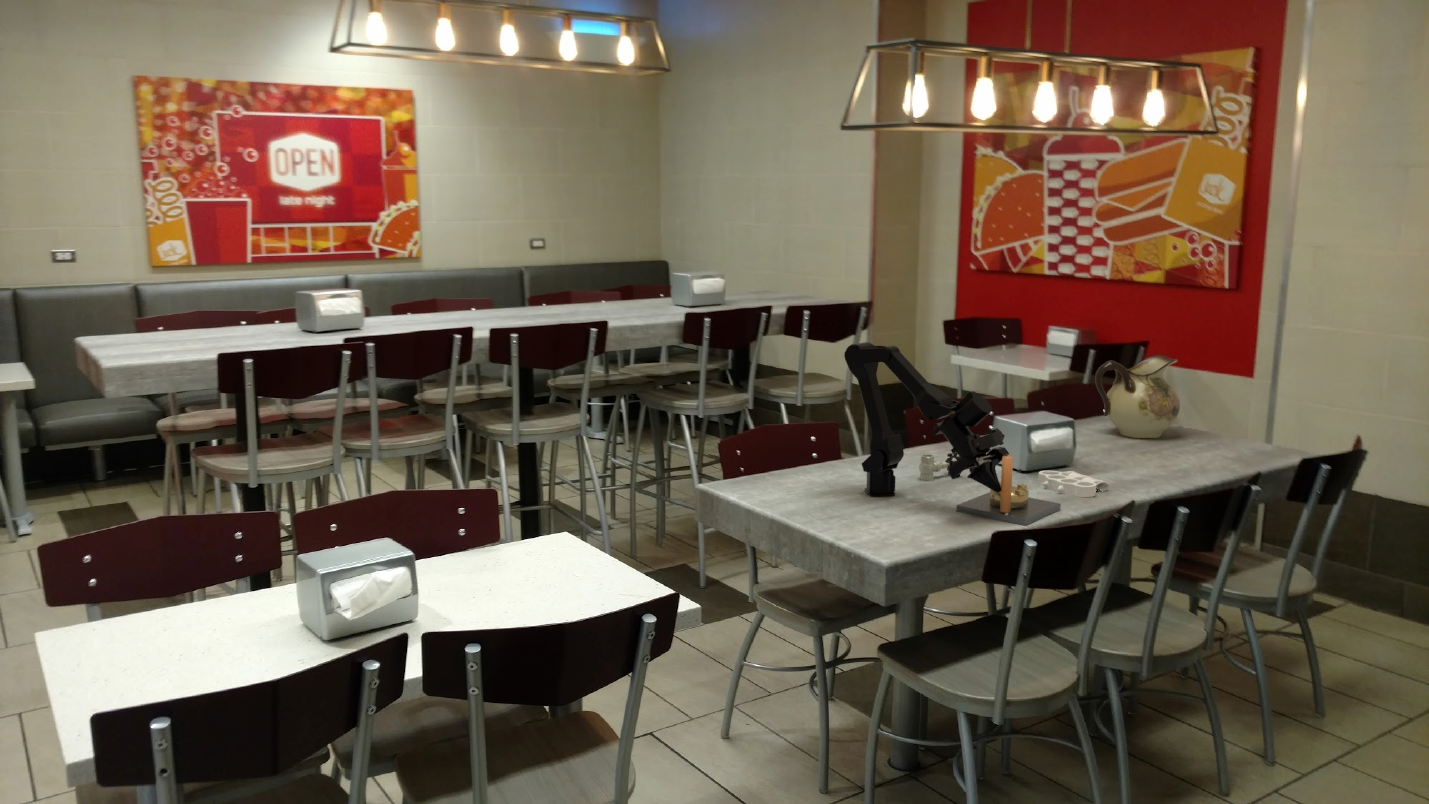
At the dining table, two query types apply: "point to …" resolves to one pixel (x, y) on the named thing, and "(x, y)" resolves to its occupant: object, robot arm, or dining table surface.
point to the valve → (934, 465)
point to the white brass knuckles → (1071, 483)
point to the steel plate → (1016, 515)
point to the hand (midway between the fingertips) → (999, 491)
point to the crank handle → (1009, 490)
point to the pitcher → (1140, 397)
